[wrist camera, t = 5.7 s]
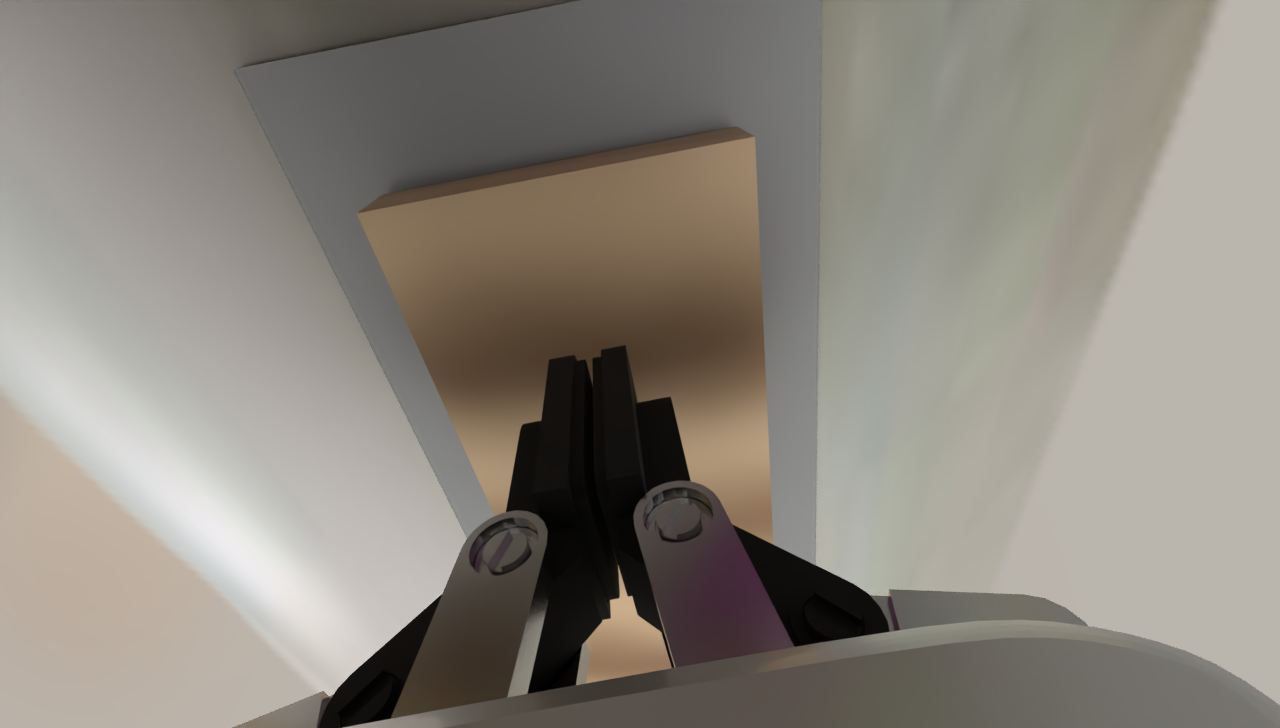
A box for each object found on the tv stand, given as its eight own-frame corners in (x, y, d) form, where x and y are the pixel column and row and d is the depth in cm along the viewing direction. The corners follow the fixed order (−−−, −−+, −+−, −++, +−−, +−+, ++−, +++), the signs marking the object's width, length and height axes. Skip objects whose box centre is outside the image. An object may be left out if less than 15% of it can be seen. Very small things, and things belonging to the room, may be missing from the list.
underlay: (241, 68, 11) (232, 69, 10) (816, -46, 11) (822, -48, 10) (565, 727, 25) (565, 734, 25) (811, 684, 25) (814, 690, 25)
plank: (382, 195, 12) (356, 213, 10) (736, 126, 11) (754, 136, 10) (586, 678, 23) (586, 716, 21) (768, 645, 22) (779, 681, 21)
